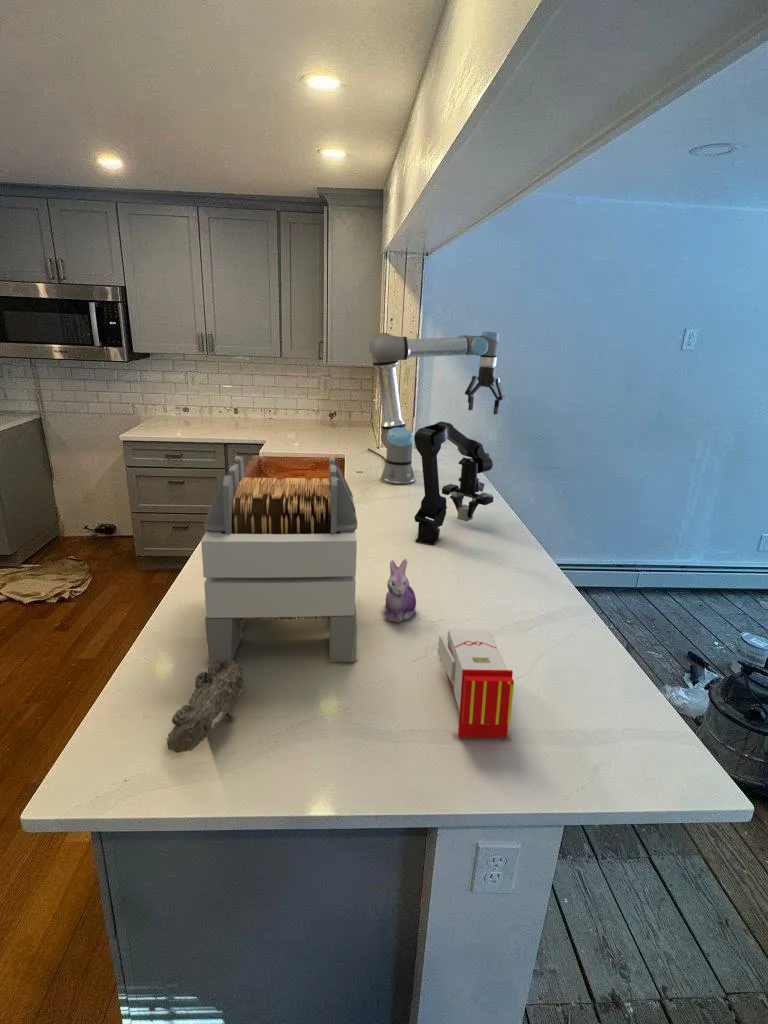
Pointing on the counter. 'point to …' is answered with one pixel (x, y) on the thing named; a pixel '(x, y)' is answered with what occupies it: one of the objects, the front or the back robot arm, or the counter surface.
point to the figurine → (399, 594)
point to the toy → (478, 682)
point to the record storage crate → (280, 557)
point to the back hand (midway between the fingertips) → (482, 412)
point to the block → (464, 513)
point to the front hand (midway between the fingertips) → (465, 516)
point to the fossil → (206, 705)
